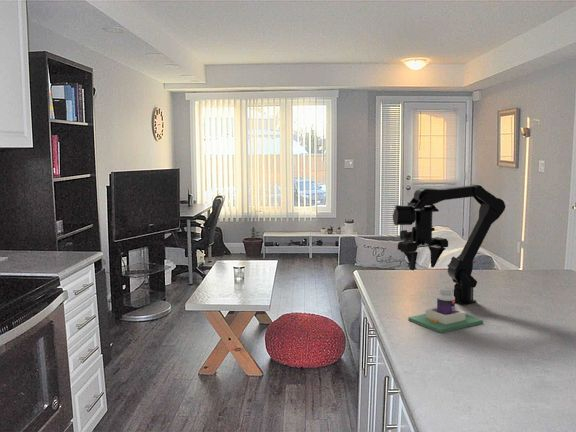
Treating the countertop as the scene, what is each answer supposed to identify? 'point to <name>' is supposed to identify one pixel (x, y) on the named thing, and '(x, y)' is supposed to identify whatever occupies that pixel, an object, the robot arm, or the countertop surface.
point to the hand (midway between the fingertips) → (422, 268)
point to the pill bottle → (446, 301)
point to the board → (444, 320)
